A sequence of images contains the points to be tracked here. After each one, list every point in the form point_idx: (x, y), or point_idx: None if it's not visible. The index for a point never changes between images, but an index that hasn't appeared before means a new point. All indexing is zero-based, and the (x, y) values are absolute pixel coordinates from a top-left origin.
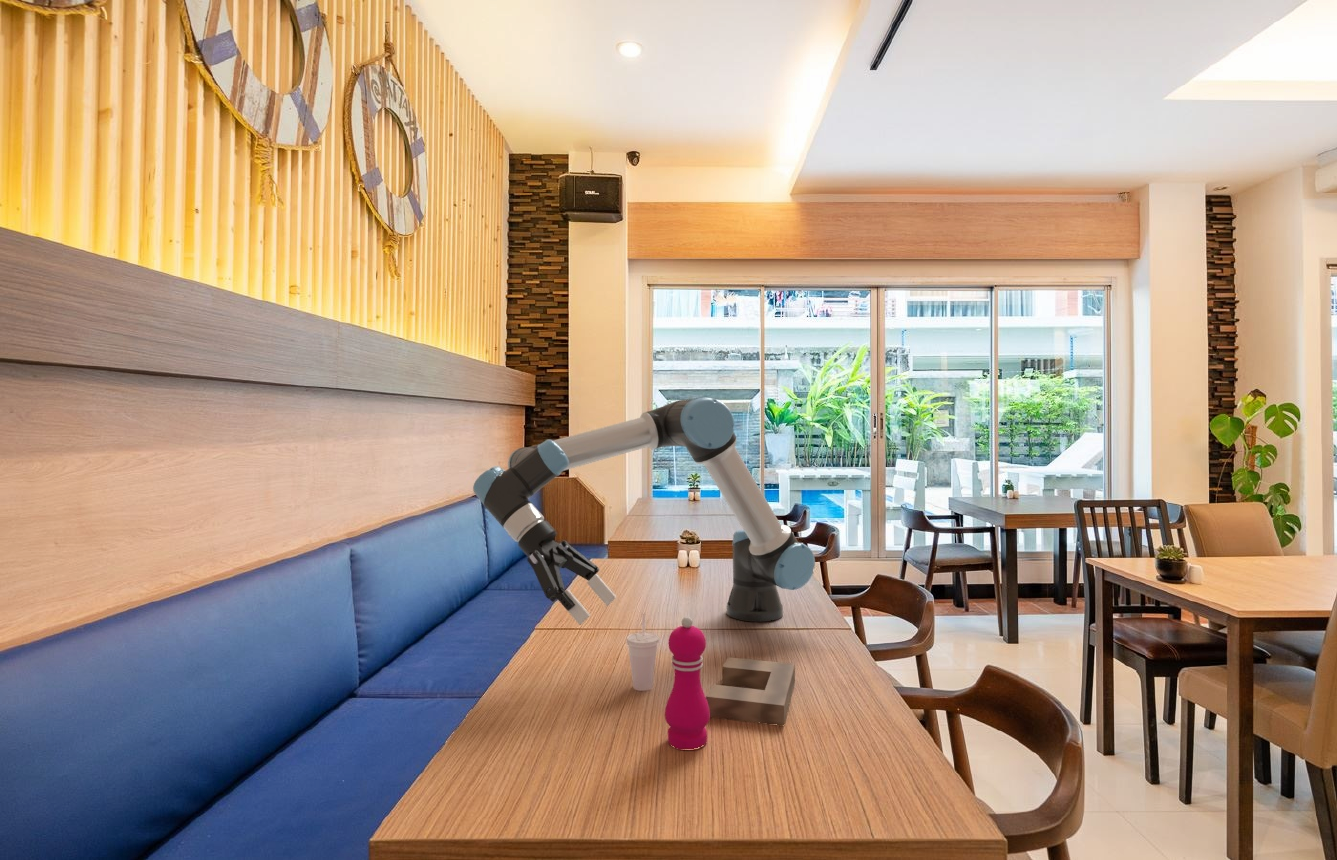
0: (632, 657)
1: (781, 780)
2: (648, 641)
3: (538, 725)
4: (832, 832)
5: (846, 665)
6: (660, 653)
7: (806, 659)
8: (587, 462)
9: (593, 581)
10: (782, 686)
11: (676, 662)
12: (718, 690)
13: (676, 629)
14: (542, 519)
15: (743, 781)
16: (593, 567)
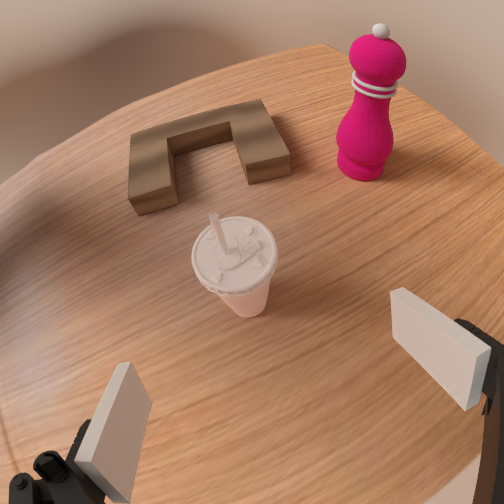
0: (270, 278)
1: (353, 98)
2: (250, 226)
3: None
4: None
5: (82, 141)
6: (85, 358)
7: (69, 173)
8: None
9: (116, 467)
10: (209, 114)
11: (397, 82)
12: (261, 151)
13: (394, 46)
14: None
15: None
16: (35, 494)
